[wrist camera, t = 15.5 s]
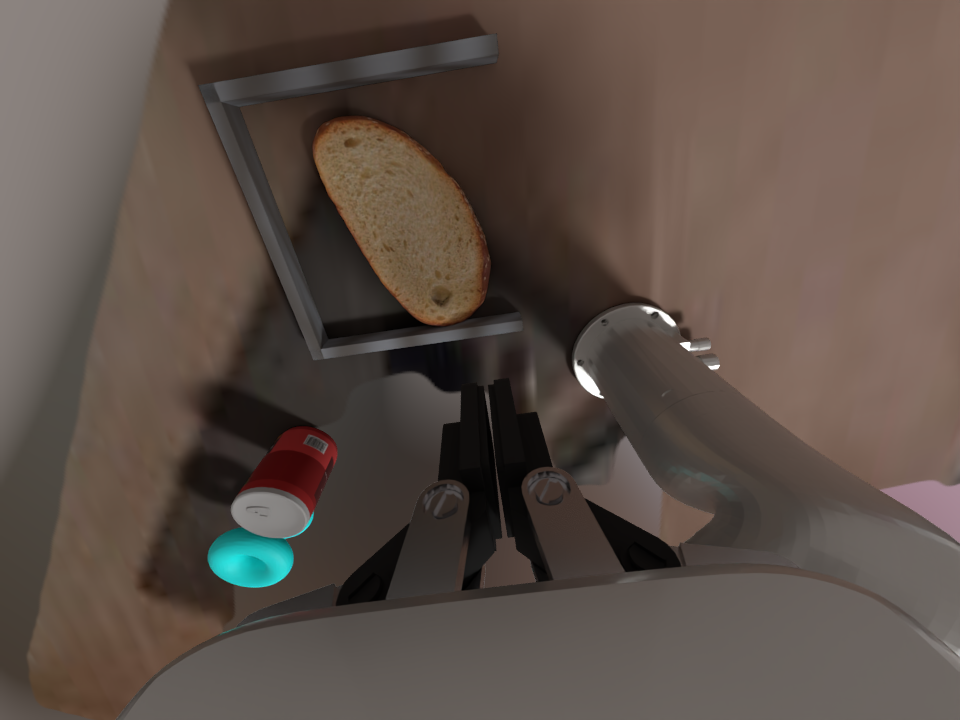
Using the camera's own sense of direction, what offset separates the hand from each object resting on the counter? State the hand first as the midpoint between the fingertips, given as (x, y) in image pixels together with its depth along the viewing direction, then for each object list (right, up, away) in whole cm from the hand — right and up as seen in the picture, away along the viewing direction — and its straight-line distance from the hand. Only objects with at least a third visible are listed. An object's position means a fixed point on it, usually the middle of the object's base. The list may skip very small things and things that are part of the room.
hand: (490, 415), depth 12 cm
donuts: (-30, -19, +41) cm, 54 cm away
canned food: (-24, -10, +35) cm, 44 cm away
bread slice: (-8, +15, +23) cm, 29 cm away
